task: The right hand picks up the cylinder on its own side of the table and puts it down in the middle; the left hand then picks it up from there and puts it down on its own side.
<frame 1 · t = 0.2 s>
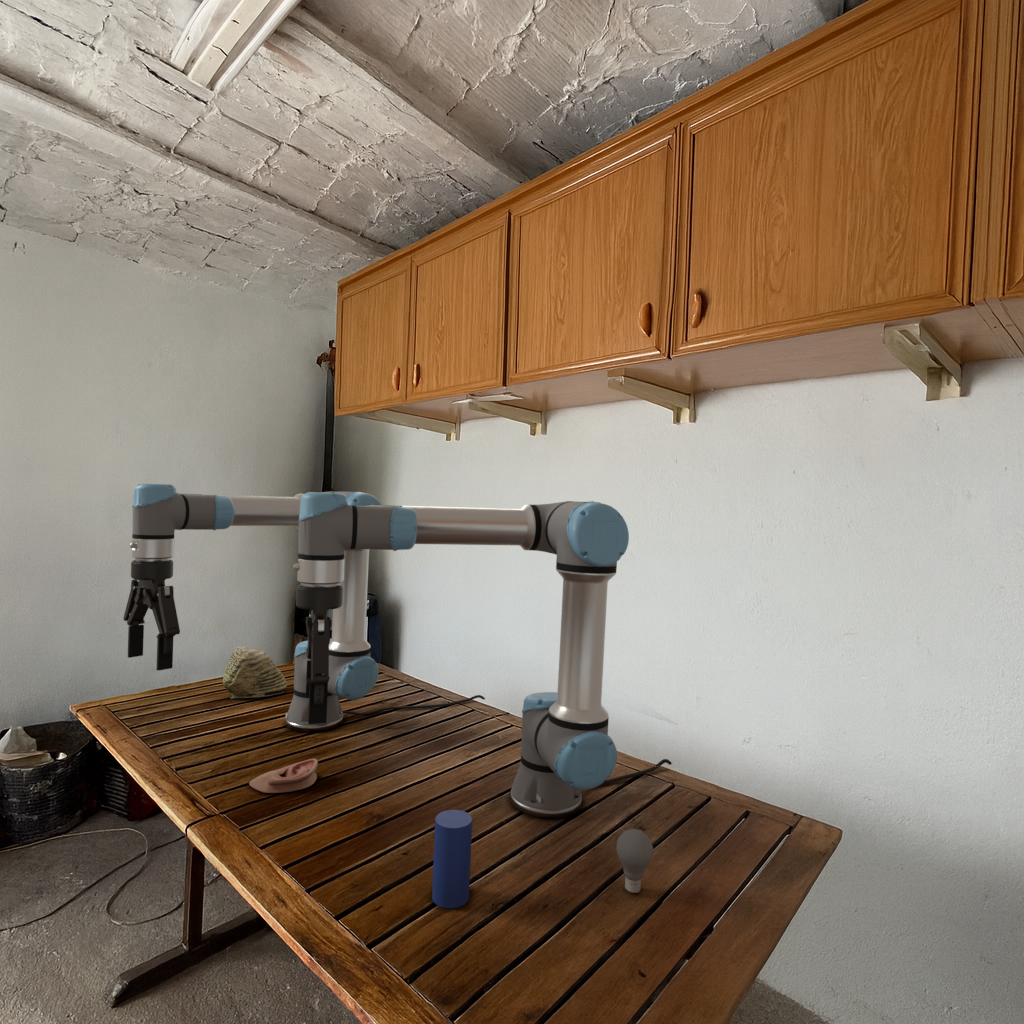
left hand: (149, 662, 130), 28 cm above the table, tool pointing down, fingers open, 13 cm apart
right hand: (315, 709, 107), 28 cm above the table, tool pointing down, fingers open, 13 cm apart
cylinder: (450, 896, 102), on the table
anatomical model: (283, 783, 139), on the table
light bulb: (632, 891, 106), on the table
fossil: (254, 694, 198), on the table
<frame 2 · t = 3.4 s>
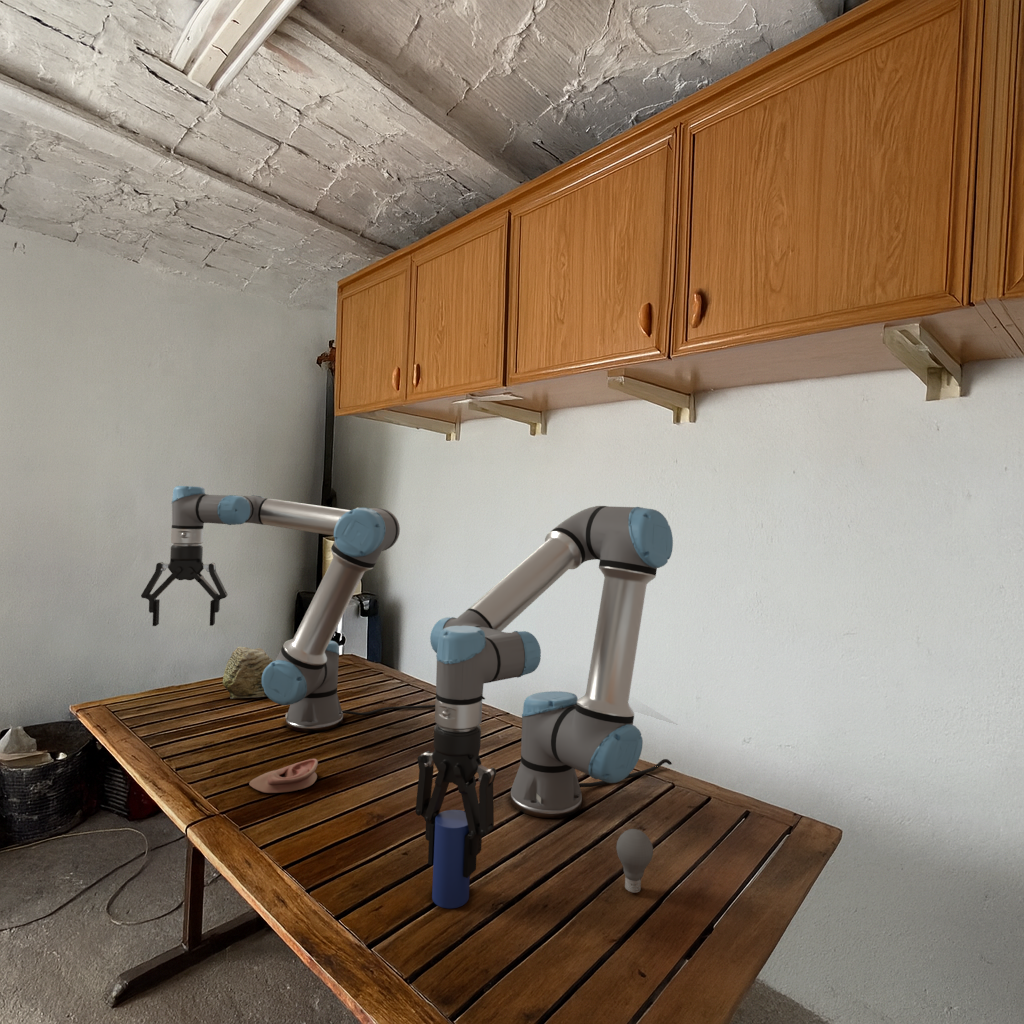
left hand: (184, 625, 167), 28 cm above the table, tool pointing down, fingers open, 13 cm apart
right hand: (451, 866, 102), 5 cm above the table, tool pointing down, fingers closed on cylinder, 6 cm apart
cylinder: (450, 896, 102), on the table, touching right hand
everything else where it was.
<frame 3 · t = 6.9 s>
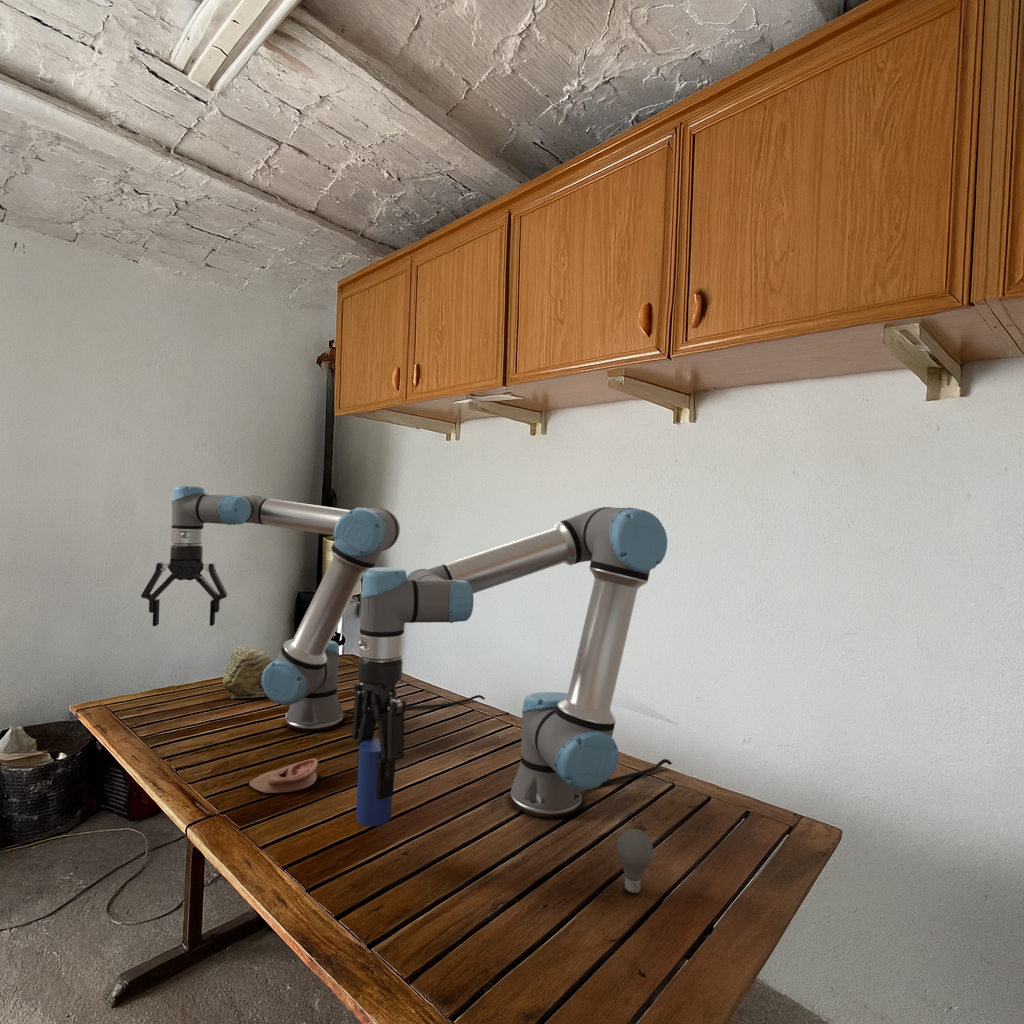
left hand: (184, 625, 167), 28 cm above the table, tool pointing down, fingers open, 13 cm apart
right hand: (374, 789, 110), 13 cm above the table, tool pointing down, fingers closed on cylinder, 6 cm apart
cylinder: (373, 817, 110), point 8 cm above the table, touching right hand
everything else where it was.
when the right hand's fingers open (7 cm above the table, at t = 10.2 s): cylinder drops 2 cm, on the table.
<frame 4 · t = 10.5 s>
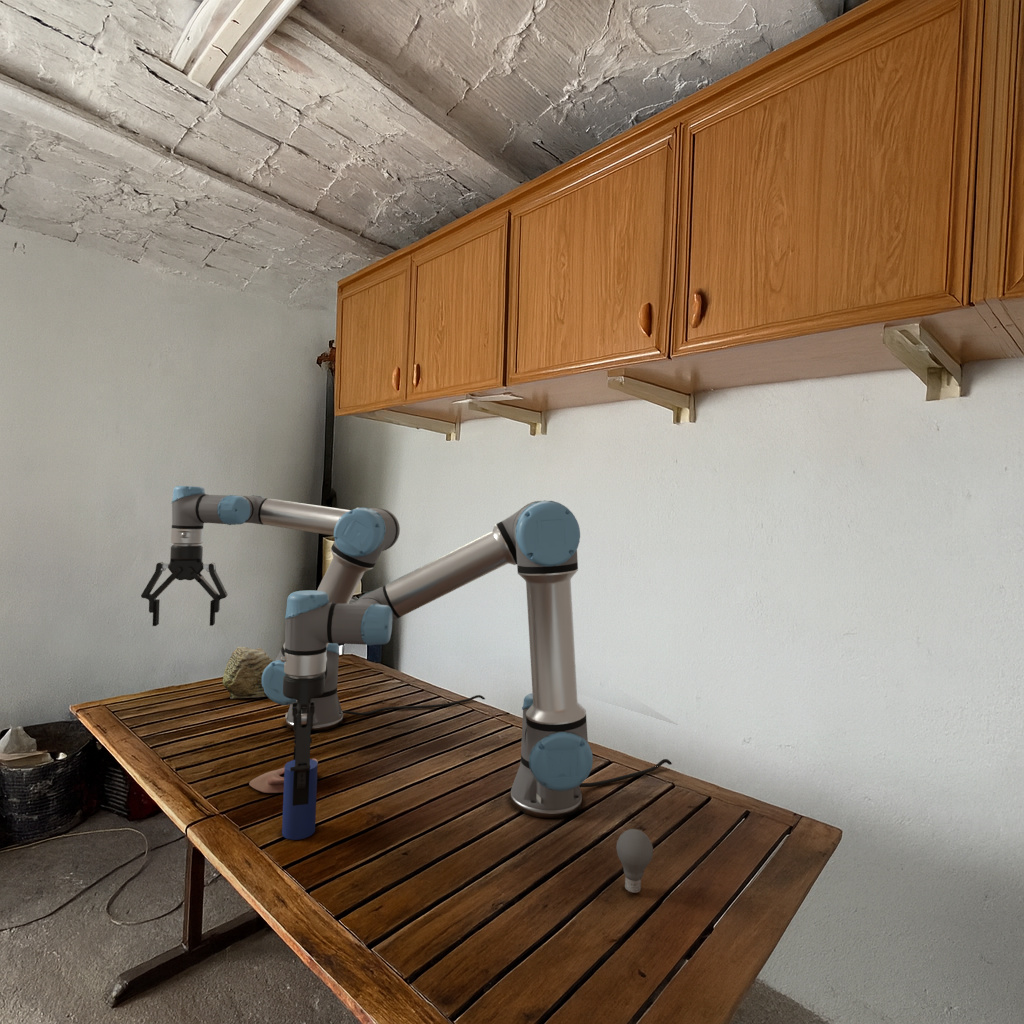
left hand: (184, 625, 167), 28 cm above the table, tool pointing down, fingers open, 13 cm apart
right hand: (300, 790, 120), 8 cm above the table, tool pointing down, fingers open, 10 cm apart
cylinder: (298, 831, 120), on the table
everything else where it was.
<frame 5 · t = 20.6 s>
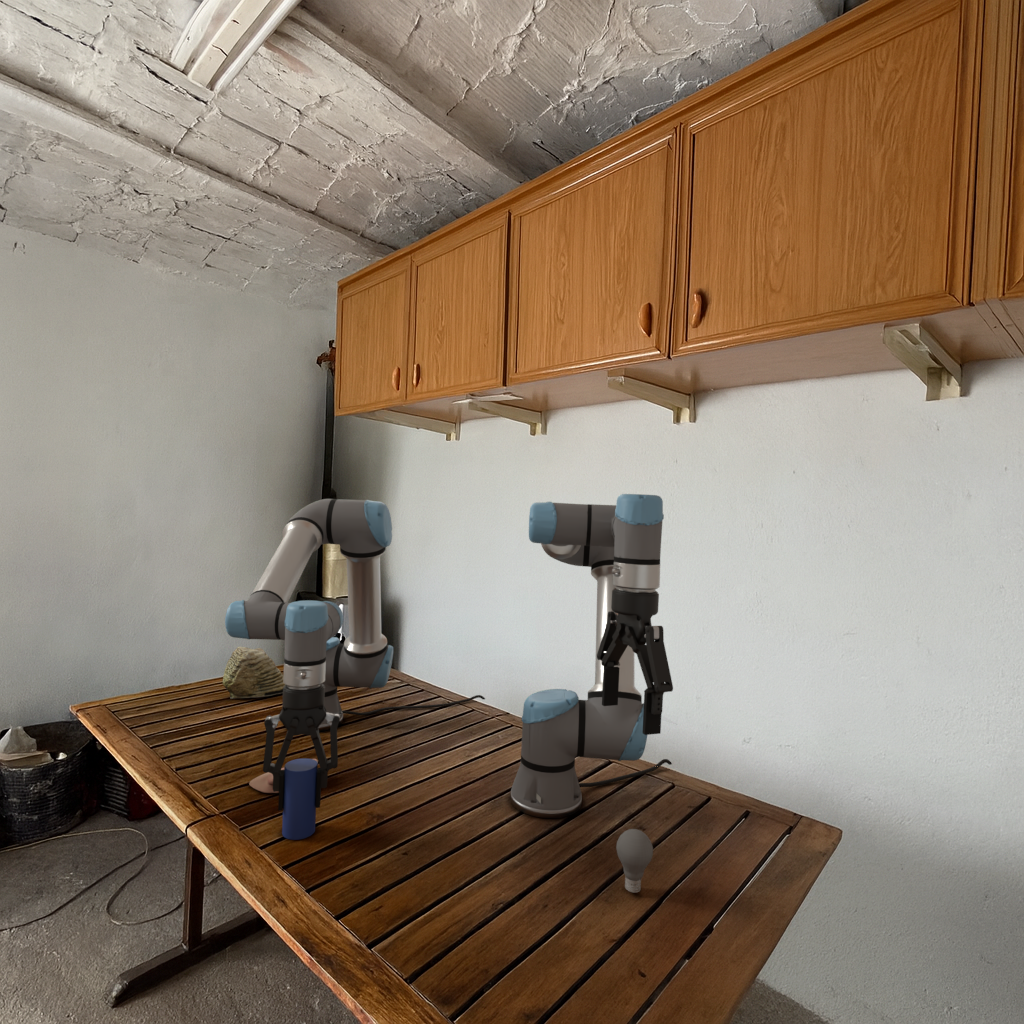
left hand: (299, 805, 120), 5 cm above the table, tool pointing down, fingers closed on cylinder, 6 cm apart
right hand: (629, 718, 103), 30 cm above the table, tool pointing down, fingers open, 13 cm apart
cylinder: (298, 831, 120), on the table, touching left hand
everything else where it was.
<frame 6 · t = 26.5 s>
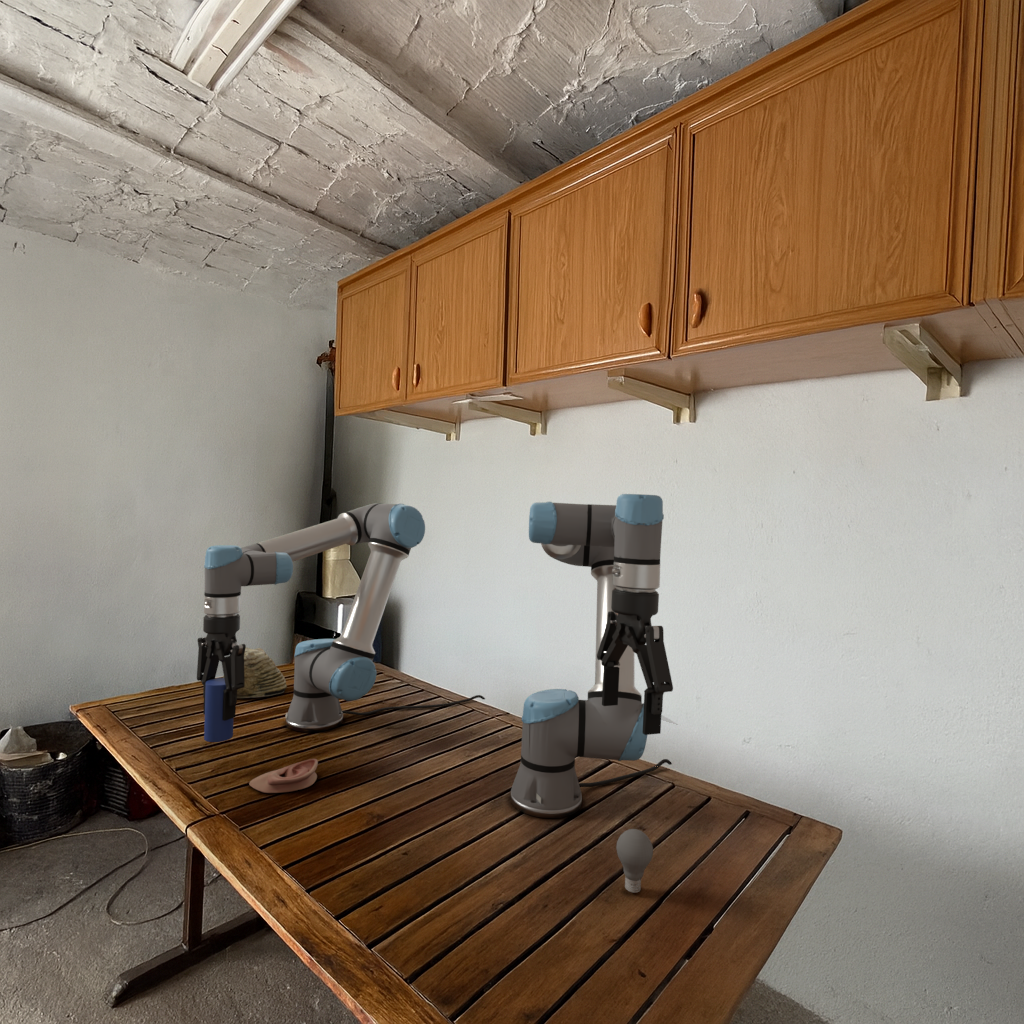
left hand: (219, 715, 143), 13 cm above the table, tool pointing down, fingers closed on cylinder, 6 cm apart
right hand: (629, 718, 103), 30 cm above the table, tool pointing down, fingers open, 13 cm apart
cylinder: (218, 737, 143), point 8 cm above the table, touching left hand
everything else where it was.
when the left hand's fingers open (7 cm above the table, at t = 32.6 s): cylinder drops 2 cm, on the table.
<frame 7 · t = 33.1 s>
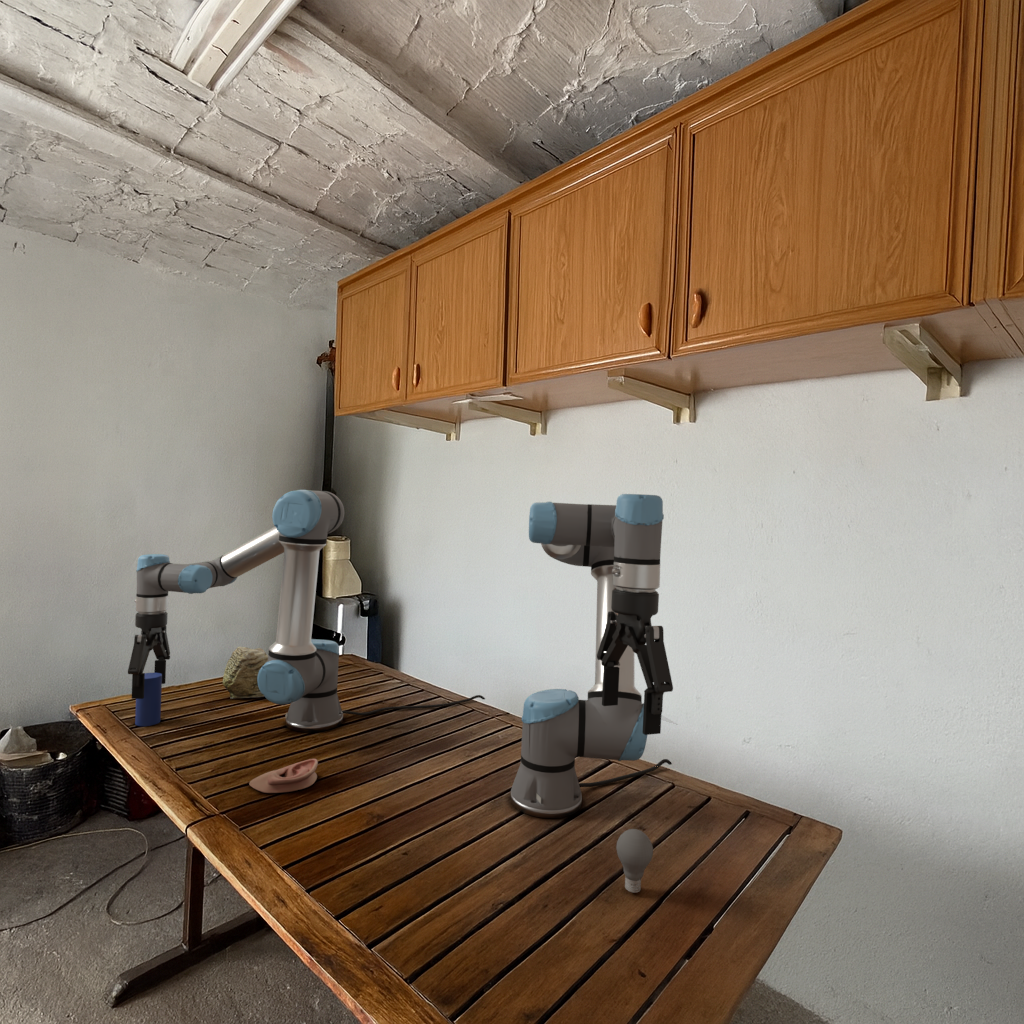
left hand: (149, 690, 171), 9 cm above the table, tool pointing down, fingers open, 12 cm apart
right hand: (629, 718, 103), 30 cm above the table, tool pointing down, fingers open, 13 cm apart
cylinder: (147, 722, 171), on the table
everything else where it was.
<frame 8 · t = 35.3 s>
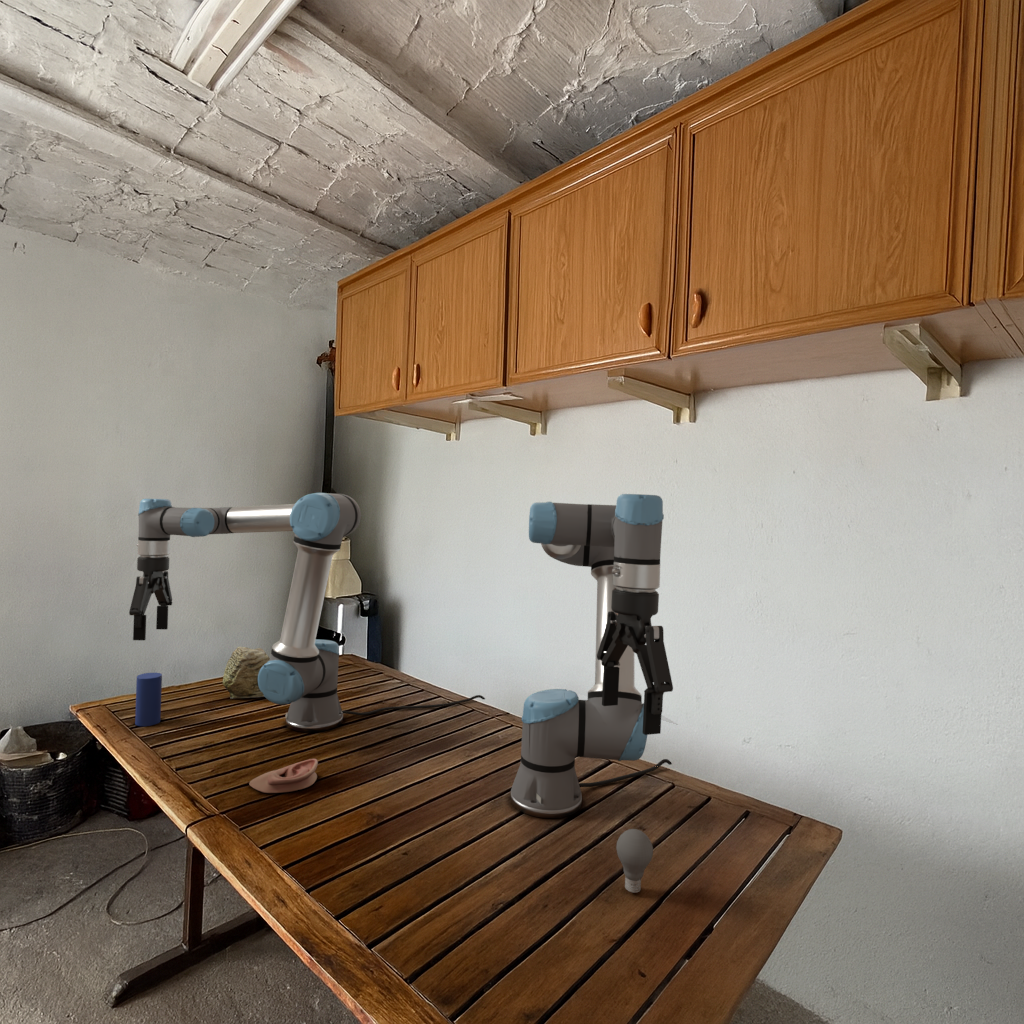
left hand: (151, 634, 171), 24 cm above the table, tool pointing down, fingers open, 13 cm apart
right hand: (629, 718, 103), 30 cm above the table, tool pointing down, fingers open, 13 cm apart
nothing on the table moved.
at the end: cylinder inside the target area (0.0 cm from its centre), on the table; cylinder tilted 0°; the two hands never held the cylinder at the same time; the left hand is holding nothing; the right hand is holding nothing; cylinder at rest at the end (0.0 cm/s) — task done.
